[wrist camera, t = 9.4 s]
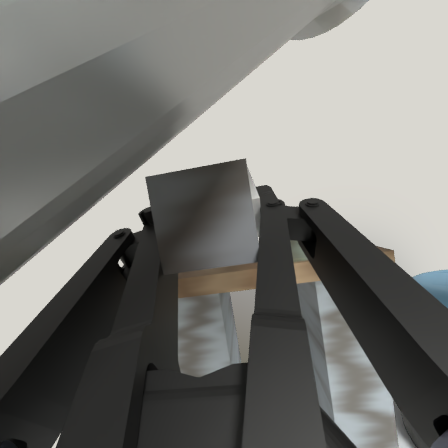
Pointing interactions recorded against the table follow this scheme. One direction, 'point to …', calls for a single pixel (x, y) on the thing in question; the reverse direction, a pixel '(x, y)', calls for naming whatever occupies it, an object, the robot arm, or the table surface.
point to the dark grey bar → (204, 217)
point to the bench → (318, 340)
